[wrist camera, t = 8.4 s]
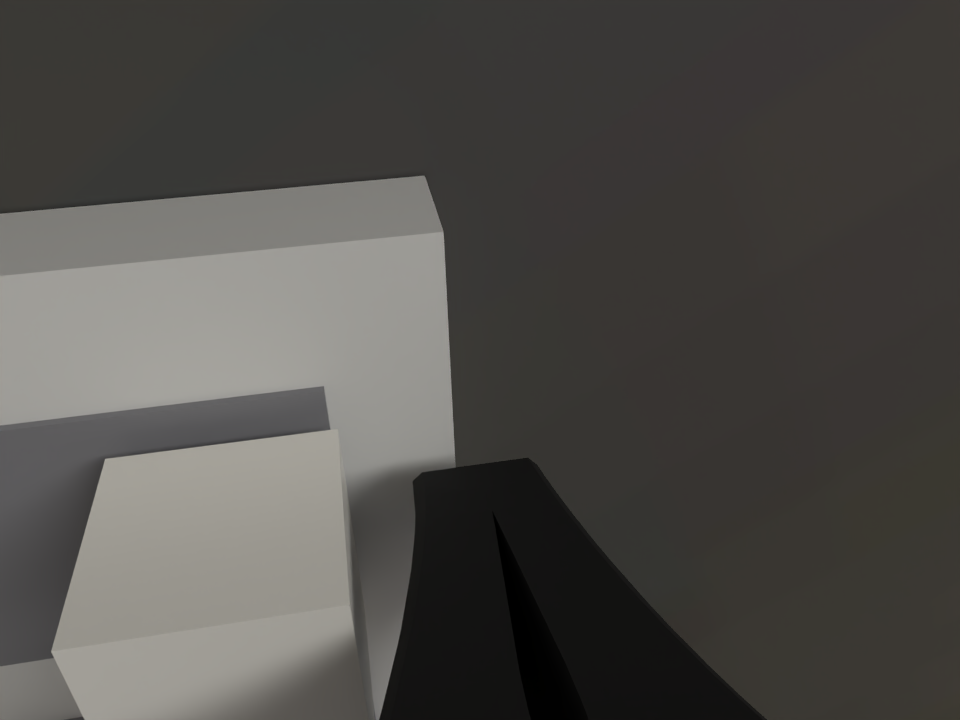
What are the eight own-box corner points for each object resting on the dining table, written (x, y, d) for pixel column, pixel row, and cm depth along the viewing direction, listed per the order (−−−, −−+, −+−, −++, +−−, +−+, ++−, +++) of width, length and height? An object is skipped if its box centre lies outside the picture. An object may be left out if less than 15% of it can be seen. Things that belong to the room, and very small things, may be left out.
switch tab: (364, 611, 11) (380, 795, 9) (171, 642, 10) (143, 839, 9) (337, 428, 9) (349, 604, 7) (104, 459, 9) (51, 652, 7)
